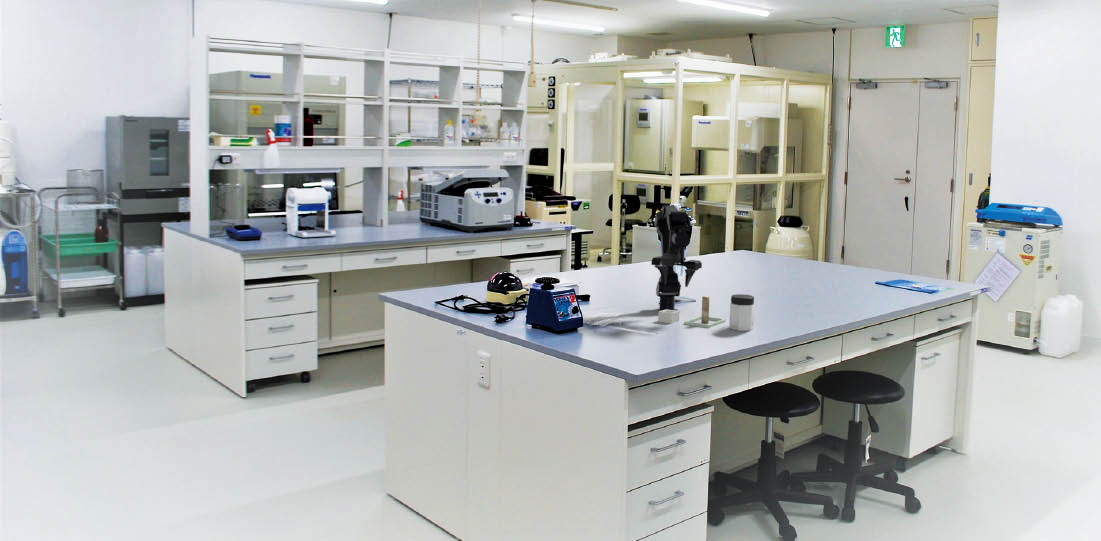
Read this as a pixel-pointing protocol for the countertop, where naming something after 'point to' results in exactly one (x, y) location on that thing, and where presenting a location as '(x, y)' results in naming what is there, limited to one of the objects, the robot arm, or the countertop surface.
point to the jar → (741, 312)
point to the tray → (691, 322)
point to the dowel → (705, 310)
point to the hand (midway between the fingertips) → (675, 285)
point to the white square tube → (668, 316)
